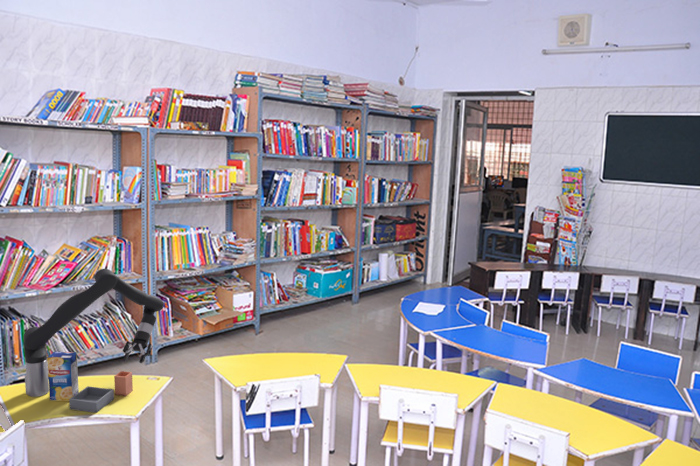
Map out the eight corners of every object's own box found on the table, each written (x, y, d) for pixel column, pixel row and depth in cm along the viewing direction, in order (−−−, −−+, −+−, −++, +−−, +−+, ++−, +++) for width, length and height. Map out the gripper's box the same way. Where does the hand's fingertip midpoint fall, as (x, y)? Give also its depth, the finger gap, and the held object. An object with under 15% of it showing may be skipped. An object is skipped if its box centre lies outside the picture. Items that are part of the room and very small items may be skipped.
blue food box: (72, 400, 274) (70, 357, 270) (49, 400, 273) (46, 357, 269) (78, 394, 280) (76, 352, 277) (56, 393, 280) (53, 351, 276)
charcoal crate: (69, 409, 266) (69, 399, 265) (88, 395, 279) (87, 386, 278) (96, 412, 263) (96, 402, 262) (114, 398, 277) (113, 389, 276)
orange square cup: (115, 394, 281) (114, 376, 279) (121, 389, 287) (121, 371, 285) (126, 396, 280) (125, 377, 278) (132, 390, 286) (132, 372, 284)
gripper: (128, 328, 297) (116, 357, 288) (153, 331, 295) (142, 360, 286) (134, 334, 303) (123, 363, 294) (158, 337, 301) (148, 366, 292)
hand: (132, 362), depth 290 cm, fingers open, 8 cm apart
